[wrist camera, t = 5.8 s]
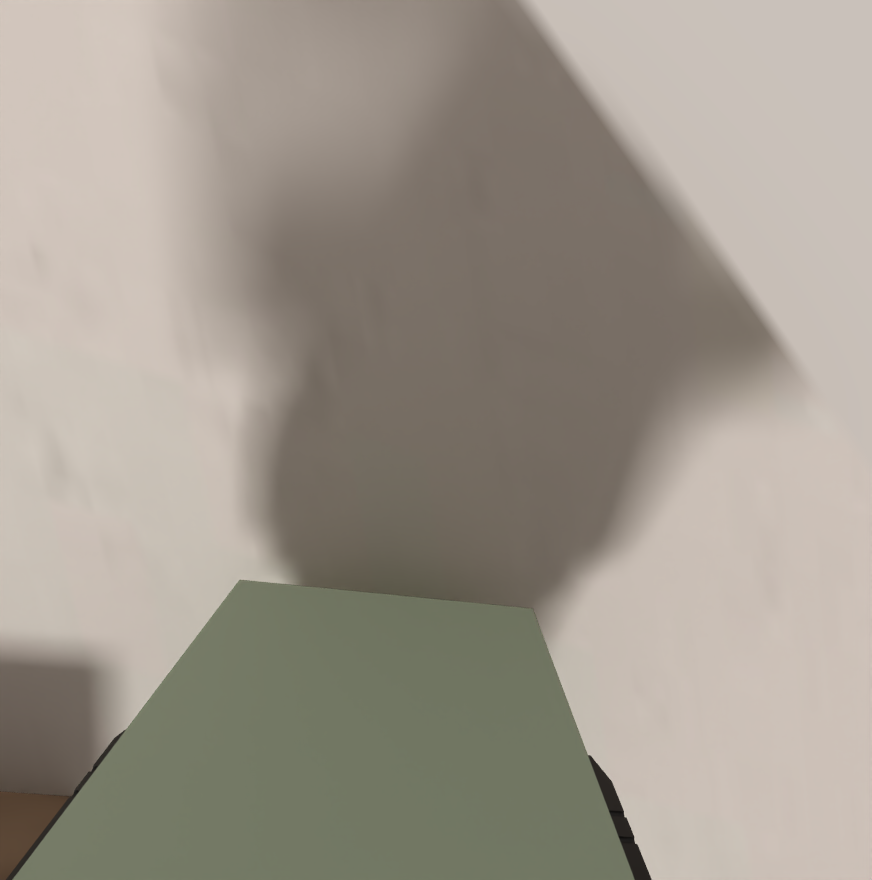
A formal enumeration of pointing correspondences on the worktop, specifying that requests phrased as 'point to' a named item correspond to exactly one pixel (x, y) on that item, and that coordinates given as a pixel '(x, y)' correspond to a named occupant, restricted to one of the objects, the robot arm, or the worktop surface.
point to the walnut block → (23, 824)
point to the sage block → (345, 753)
